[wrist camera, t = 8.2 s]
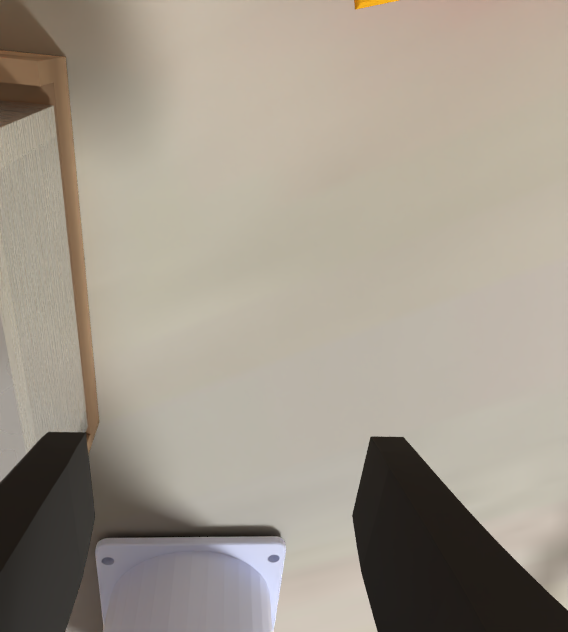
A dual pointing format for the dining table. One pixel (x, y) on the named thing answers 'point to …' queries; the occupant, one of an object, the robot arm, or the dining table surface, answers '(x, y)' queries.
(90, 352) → the housing base
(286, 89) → the dining table surface
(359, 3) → the hamburger
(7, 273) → the housing cover
